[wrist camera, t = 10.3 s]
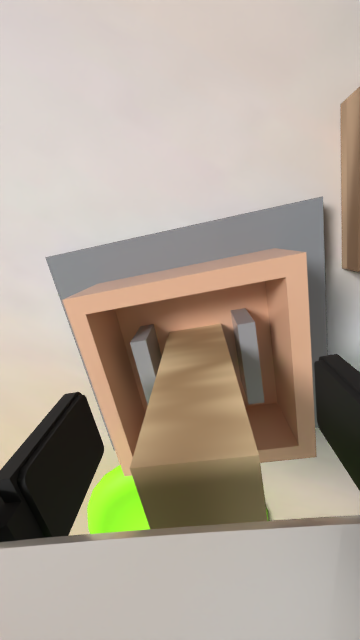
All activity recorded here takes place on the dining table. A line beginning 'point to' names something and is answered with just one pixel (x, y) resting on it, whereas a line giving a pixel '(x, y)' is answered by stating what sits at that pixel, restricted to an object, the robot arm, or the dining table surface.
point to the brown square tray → (350, 181)
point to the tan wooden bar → (197, 439)
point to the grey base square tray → (206, 317)
